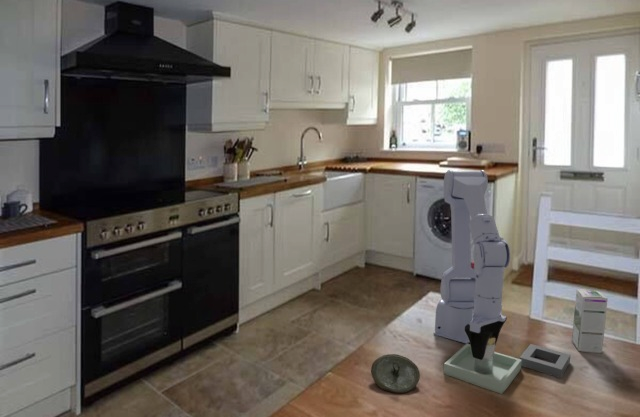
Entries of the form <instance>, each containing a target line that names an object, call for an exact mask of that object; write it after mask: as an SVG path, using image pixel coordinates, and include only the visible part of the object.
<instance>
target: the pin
mask: <svg viewBox="0 0 640 417" xmlns="http://www.w3.org/2000/svg"><path fill="white" fill-rule="evenodd" d="M495 348H496V345H495V337H494V336H493V335H491V336H490V338H489V340H488V343H487V346H486V350H485V355H484V357H483V359H482V360H480V359H477V358H475V365H474V370H475V371H476V372H478V373H480V374H485V375H488V374H492V373H493V363H494V352H495V350H496V349H495Z"/></svg>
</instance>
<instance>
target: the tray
mask: <svg viewBox="0 0 640 417" xmlns="http://www.w3.org/2000/svg"><path fill="white" fill-rule="evenodd" d="M521 362H522V360H521V359H520V358H516V357H514V356H510V355H507V354H503V353H501V352H496V351H494V363H493V373H492V374H488V375H485V374H480V373H478V372H476V371H475V370H474V365H475V358H474V357H473V355H472V350H471V345H470V344H469V343H468V344H464V345H463V346H462V347H461V348H460V349H458V351H456V352H455V354H453V355H452V356H451V357H449V359H448V360H447V361H445V362H444V363H443V364H444V365H443V375H446V376H449V377H452V378H454V379H457V380H461V381H464V382H466V383H468V384H471V385H474V386H478V387H480V388H483V389H486V390H489V391H492V392H495V393H498V394H500V395H503V393H505V391H506V390H507V389H508V387H510V385H511V384H512V382H513V381H514V379H516V377H517V376H518V374H519V373H520V371H522V366H521Z"/></svg>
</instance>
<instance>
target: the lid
mask: <svg viewBox="0 0 640 417" xmlns="http://www.w3.org/2000/svg"><path fill="white" fill-rule="evenodd" d="M370 373H371V377H372V379H373V382H374V383H375V384H376V386H378V387H379V389H381V390H384V391H386V392H389V393H392V394H393V393H394V394H395V393H396V394H402V393H404V394H405V393H408V392H409V391H411V390H413V389H414V388H415V387H416V386H417V385H418V383H419V381H420V379H421V377H420V376H421V373H420V370H419V367H418V365H416V363H415V362H413V361H412V360H411V359H410V358H408V357H405V356H404V355H399V354H398V353H397V354H396V353H392V354H383V355H382V356H380V357H378V358H376V359H375V360H374V361H373V362H372V365H371V370H370Z"/></svg>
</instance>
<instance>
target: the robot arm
mask: <svg viewBox="0 0 640 417" xmlns="http://www.w3.org/2000/svg"><path fill="white" fill-rule="evenodd" d="M488 179H489V178H488V174H487V173H486V171H485V170H484V169H480V170H461V169H460V170H459V169H458V170H455V169H454V170H452V169H448V170H447V171H445V173H444V179H443V198H444V202H445V203H447V204H448V205H449V206H450V211H451V213H450V214H451V218H450V219H451V221H450V222H451V225H450V226H451V266H450V267H449V268H448V269H446V270H445V271H444V272H443V273H442V275H441V282H440V290H439V291H440V297H441V299H440V300H439V301H438V303H437V305H436V310H435V318H434V320H435V323H434V331H433V335H434V336H438V337H439V336H440V337H441V338H446V339H449V340H452V341H455V342H459V343H463V344H464V345H466V344H469V343H470V345H471V350H472V355H473V357H474V358H477V359H480V360H482V359H483V357H484V355H485V350H486V346H487V343H488V340H489V338H490V336H491V335H493V336H494V337H495V346H496V345H497V342H498V339H499V335H500V333H501V330H502V327H503V326H504V325H505V323H506V322H507V319H508V318H507V316H506V315H503V314H502V312H503V308H502V307H503V304H502V301H503V286H504V276H505V275H504V274H505V268H508V267H509V264H510V260H511V251H510V246H509V243H508V242H507V241H506V240H505V239H504V238H503V237H501V236H500V233H499V230H498V226H497V224H496V222H495V219H494V217H493V216H492V215H490V214H488V211H487V206H486V201H485V195H486V192H487V190H488V183H489V182H488V181H489V180H488ZM471 238H472V241H473V245H474V247H473V251H471V249H472V248H471V245H472V244H471ZM472 253H473V254H472ZM471 257H472V258H473V265H474V266H473V268H472V258H471ZM466 278H467V279H466ZM469 278H470V279H469Z"/></svg>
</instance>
